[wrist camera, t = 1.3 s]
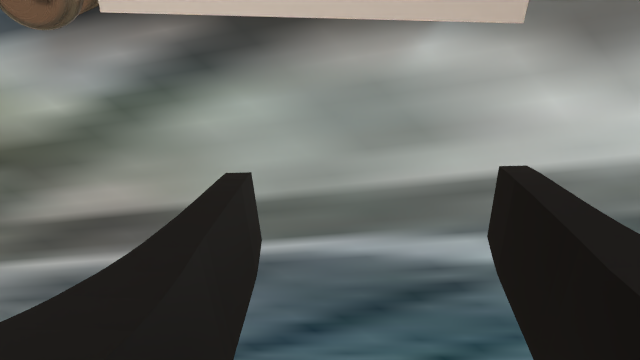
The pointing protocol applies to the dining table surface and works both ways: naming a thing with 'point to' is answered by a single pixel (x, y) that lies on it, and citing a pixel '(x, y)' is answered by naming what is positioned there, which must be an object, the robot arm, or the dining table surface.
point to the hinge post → (46, 12)
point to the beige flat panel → (334, 9)
